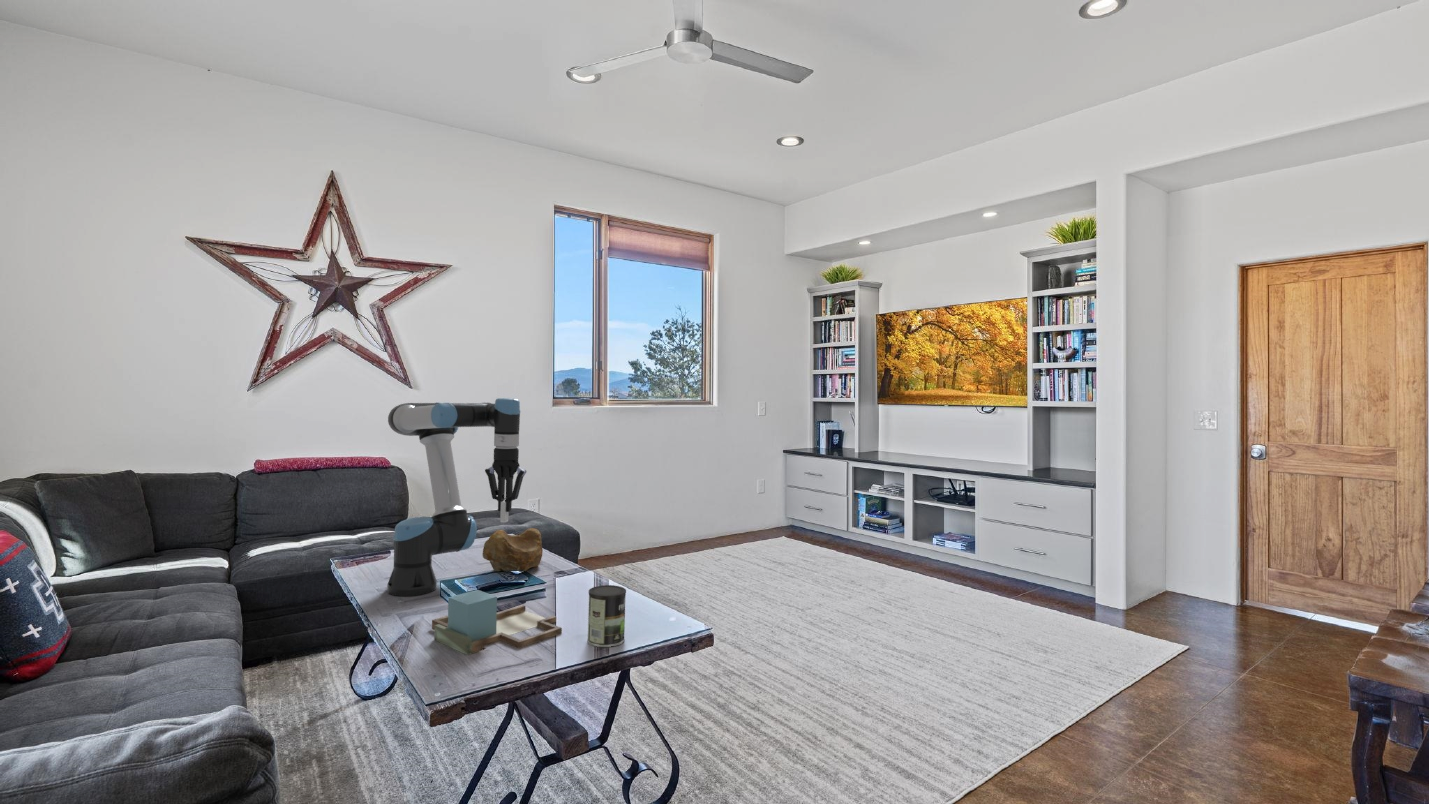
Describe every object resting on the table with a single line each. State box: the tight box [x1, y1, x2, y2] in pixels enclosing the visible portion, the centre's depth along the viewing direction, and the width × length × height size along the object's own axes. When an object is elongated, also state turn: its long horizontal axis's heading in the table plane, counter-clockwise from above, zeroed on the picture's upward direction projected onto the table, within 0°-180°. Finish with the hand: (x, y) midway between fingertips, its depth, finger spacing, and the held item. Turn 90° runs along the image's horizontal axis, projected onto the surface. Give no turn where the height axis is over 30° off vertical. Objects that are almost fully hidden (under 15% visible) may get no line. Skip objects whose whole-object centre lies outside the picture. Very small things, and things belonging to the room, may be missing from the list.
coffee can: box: [587, 584, 627, 648], centre depth 189 cm, size 10×10×14 cm
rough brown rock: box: [482, 527, 544, 572], centre depth 255 cm, size 23×17×15 cm
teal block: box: [447, 589, 498, 642], centre depth 186 cm, size 9×9×11 cm
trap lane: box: [431, 604, 563, 656], centre depth 192 cm, size 29×31×4 cm
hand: (504, 521), depth 215 cm, fingers closed
